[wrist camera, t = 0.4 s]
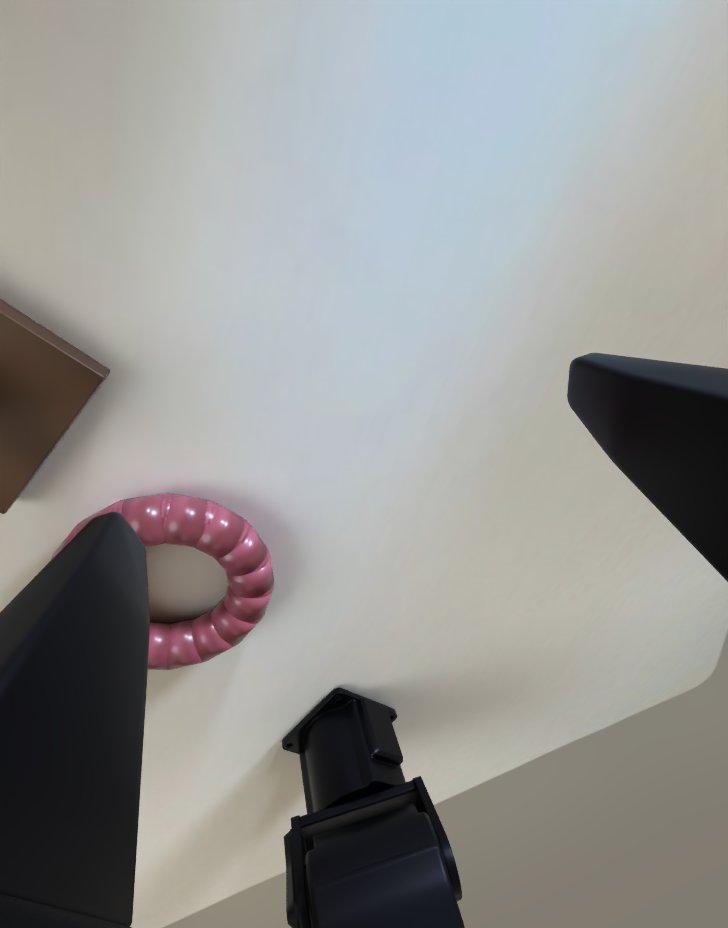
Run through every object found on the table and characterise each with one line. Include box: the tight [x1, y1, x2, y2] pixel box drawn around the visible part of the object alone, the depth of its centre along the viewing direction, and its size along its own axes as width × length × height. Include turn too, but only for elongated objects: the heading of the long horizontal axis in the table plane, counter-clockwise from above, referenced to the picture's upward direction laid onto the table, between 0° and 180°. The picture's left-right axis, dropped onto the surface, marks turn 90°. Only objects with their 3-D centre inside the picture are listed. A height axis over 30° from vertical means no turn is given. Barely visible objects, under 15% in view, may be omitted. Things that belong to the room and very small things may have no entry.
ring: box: [51, 493, 274, 670], centre depth 24 cm, size 11×11×2 cm
